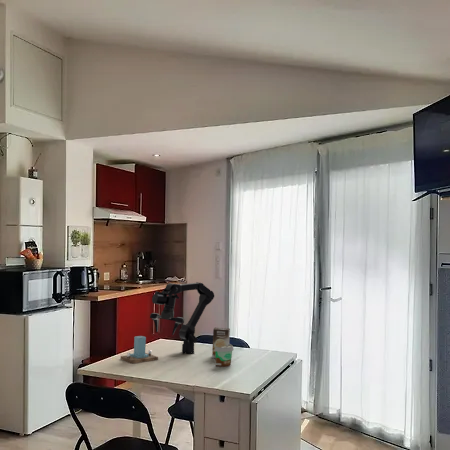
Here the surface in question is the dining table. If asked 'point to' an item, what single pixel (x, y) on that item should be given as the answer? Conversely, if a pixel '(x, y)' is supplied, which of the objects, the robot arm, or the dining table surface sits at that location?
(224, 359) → the food container
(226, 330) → the coffee box
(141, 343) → the stepped blue block
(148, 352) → the dowel pins
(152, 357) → the walnut base plate
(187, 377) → the dining table surface
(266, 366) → the dining table surface
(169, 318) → the robot arm
